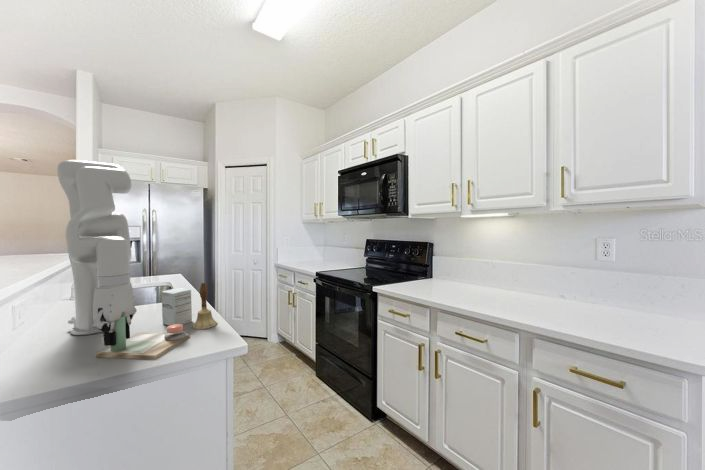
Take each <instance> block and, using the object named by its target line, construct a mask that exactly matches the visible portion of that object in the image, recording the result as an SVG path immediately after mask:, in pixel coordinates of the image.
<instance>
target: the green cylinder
mask: <svg viewBox="0 0 705 470" xmlns="http://www.w3.org/2000/svg"><path fill="white" fill-rule="evenodd" d="M114 331H115V332H116V345H114V346H110V347H111V351H113V352H116V351H121V350H124V349H125V348H126V324H125V312H122V314H121V318H120V319H118V320H116V321H115V324H114Z"/></svg>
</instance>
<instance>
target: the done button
mask: <svg viewBox="0 0 705 470" xmlns="http://www.w3.org/2000/svg"><path fill="white" fill-rule="evenodd" d="M181 331H184V324H183V325H182V324H174V325H167V327H166V333H177V332H181Z"/></svg>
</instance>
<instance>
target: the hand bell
mask: <svg viewBox="0 0 705 470" xmlns="http://www.w3.org/2000/svg"><path fill="white" fill-rule="evenodd" d="M199 297H200V298H201V299H200V301H201V305H200V306H201V309H200V310H199V311H198V312H197V317H196V321H195V322H194V324H192V329H193V330H194V329H195V330H206V329H210V328H213V327H215V326H217V325H218V322H217V320H215V319H214V318H213V314H212V311H211V309H209V308H208V306H207V297H208V287H207V285H206V282H201V283H200V287H199Z"/></svg>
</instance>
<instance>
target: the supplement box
mask: <svg viewBox="0 0 705 470" xmlns="http://www.w3.org/2000/svg"><path fill="white" fill-rule="evenodd" d="M161 311H162V313H161V314H162V315H161V316H162V325H167V326H170V325H174V324H182V325H183V326H184V325H185V324H188V323H192V322H193V320H192V319H193V315H192V314H193V313H192V290H191V289H188V288H183V287H176V288H170V289H167V290H162V291H161Z"/></svg>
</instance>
